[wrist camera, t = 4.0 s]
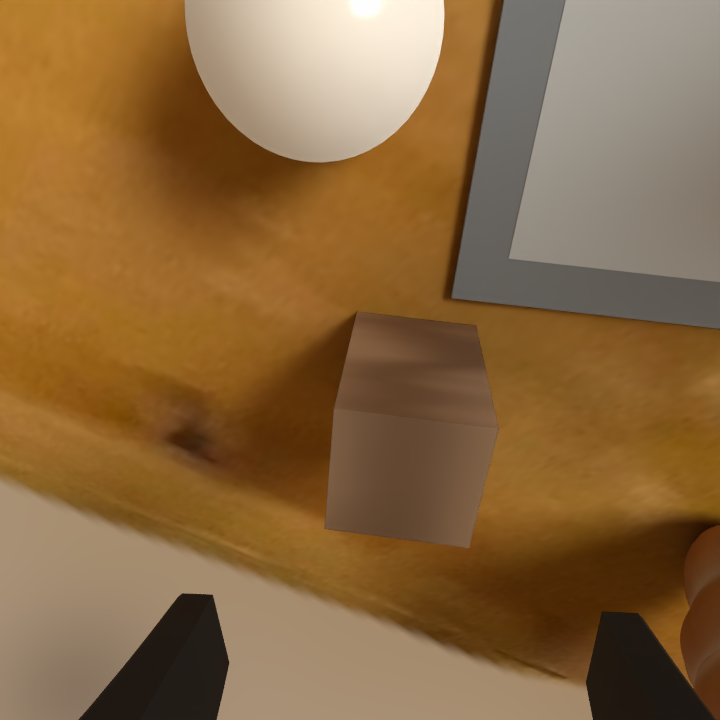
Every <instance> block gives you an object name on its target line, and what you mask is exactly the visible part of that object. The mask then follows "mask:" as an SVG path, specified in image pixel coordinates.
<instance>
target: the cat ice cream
mask: <svg viewBox="0 0 720 720" xmlns="http://www.w3.org/2000/svg"><path fill="white" fill-rule="evenodd" d="M684 586H685V594H686V598H687V601H688V604H689V607H690V609H689V612H688V614H687V615H686V617H685V619H684V622H683V625H682V628H681V634H680V644H681V651H682V655H683V659H684V662H685V666H686V670H687V674H688V677H689V679H690V682H691V684H692V685H693V687H694V688H693V689H694V691H695V692H696V693H697V695H698V696H699V697H700V699H701V700H702V701H703V703H704V704H705V705H706V707H707V708H708V709H709V711H710V712H711V713H712V715H713V716H714V717H715V719H716V720H720V525H717V526H714V527H711V528H709V529H707V530H705V531H704V532H703V533H701V534H700V535H699V536H698V537H697V539H696V540H695V541H694V542H693V544H692V545H691V547H690V549H689V551H688V553H687V556H686V559H685V563H684Z"/></svg>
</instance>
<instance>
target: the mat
mask: <svg viewBox="0 0 720 720" xmlns="http://www.w3.org/2000/svg"><path fill="white" fill-rule="evenodd" d="M451 297H452V298H455V299H463V300H472V301H481V302H490V303H498V304H507V305H516V306H524V307H533V308H542V309H551V310H559V311H568V312H577V313H586V314H594V315H603V316H612V317H620V318H629V319H638V320H647V321H655V322H664V323H673V324H681V325H690V326H699V327H708V328H716V329H720V0H503V3H502V9H501V14H500V20H499V26H498V31H497V37H496V43H495V48H494V54H493V60H492V65H491V71H490V77H489V82H488V88H487V94H486V100H485V105H484V111H483V117H482V122H481V128H480V134H479V139H478V145H477V151H476V156H475V162H474V168H473V173H472V179H471V185H470V190H469V196H468V202H467V207H466V213H465V219H464V224H463V230H462V236H461V241H460V247H459V253H458V259H457V264H456V270H455V276H454V281H453V287H452V293H451Z"/></svg>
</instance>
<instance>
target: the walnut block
mask: <svg viewBox="0 0 720 720" xmlns="http://www.w3.org/2000/svg"><path fill="white" fill-rule="evenodd" d="M498 430H499V428H498V423H497V418H496V414H495V409H494V405H493V400H492V396H491V391H490V387H489V382H488V378H487V373H486V368H485V364H484V359H483V355H482V350H481V346H480V341H479V337H478V332H477V327H476V325H468V324H459V323H451V322H442V321H433V320H425V319H416V318H408V317H399V316H390V315H382V314H373V313H365V312H357V314H356V318H355V322H354V327H353V331H352V335H351V339H350V343H349V348H348V352H347V356H346V360H345V364H344V369H343V373H342V377H341V381H340V385H339V390H338V394H337V398H336V402H335V406H334V415H333V428H332V440H331V453H330V466H329V479H328V492H327V504H326V517H325V529H328V530H336V531H343V532H351V533H359V534H366V535H374V536H381V537H389V538H397V539H404V540H412V541H419V542H427V543H435V544H442V545H450V546H457V547H465V548H469V546H470V542H471V538H472V534H473V530H474V526H475V522H476V518H477V514H478V510H479V506H480V502H481V498H482V494H483V490H484V486H485V482H486V478H487V474H488V470H489V466H490V462H491V458H492V454H493V450H494V446H495V442H496V438H497V434H498Z"/></svg>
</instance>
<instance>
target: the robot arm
mask: <svg viewBox="0 0 720 720" xmlns="http://www.w3.org/2000/svg"><path fill="white" fill-rule="evenodd" d="M228 666H229V660H228V655H227V651H226V647H225V643H224V639H223V635H222V631H221V627H220V623H219V619H218V614H217V611H216V606H215V602H214V598H213V595H206V594H181V595H180V596H179V597H178V598H177V599H176V600H175V602H174V603H173V604H172V606H171V607H170V608H169V609H168V611H167V612H166V613H165V615H164V616H163V617H162V619H161V620H160V621H159V623H158V624H157V625H156V626H155V628H154V629H153V630H152V631H151V633H150V634H149V635H148V637H147V638H146V639H145V640H144V642H143V643H142V644H141V645H140V647H139V648H138V649H137V651H136V652H135V653H134V654H133V655H132V657H131V658H130V659H129V660H128V662H127V663H126V664H125V665H124V667H123V668H122V669H121V670H120V671H119V673H118V674H117V675H116V676H115V677H114V679H113V680H112V681H111V682H110V683H109V685H108V686H107V687H106V688H105V689H104V691H103V692H102V693H101V694H100V695H99V697H98V698H97V699H96V700H95V701H94V703H93V704H92V705H91V706H90V707H89V709H88V710H87V711H86V712H85V713H84V714H83V715H82V716H81V717H80V719H79V720H216V719H217V715H218V711H219V706H220V702H221V698H222V694H223V689H224V685H225V680H226V675H227V671H228ZM586 685H587V691H588V695H589V701H590V706H591V711H592V717H593V720H716V719H715V717H714V716H713V715H712V713H711V712H710V711H709V709H708V708H707V707H706V705H705V704H704V703H703V701H702V700H701V699H700V697H699V696H698V695H697V693H696V692H695V691H694V689H693V688H692V687H691V685H690V684H689V683H688V681H687V680H686V678H685V677H684V676H683V674H682V673H681V672H680V670H679V669H678V668H677V666H676V665H675V663H674V662H673V661H672V659H671V658H670V656H669V655H668V654H667V652H666V651H665V649H664V648H663V646H662V645H661V644H660V642H659V641H658V639H657V638H656V636H655V635H654V634H653V632H652V631H651V629H650V628H649V626H648V625H647V623H646V622H645V621H644V619H643V618H642V617H641V616H640V615H639V614H638V613H621V612H602V614H601V619H600V623H599V627H598V632H597V636H596V641H595V645H594V649H593V654H592V658H591V663H590V667H589V671H588V676H587V680H586Z"/></svg>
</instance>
